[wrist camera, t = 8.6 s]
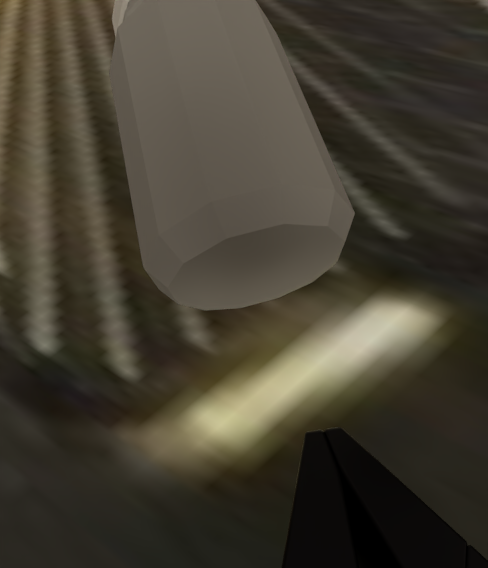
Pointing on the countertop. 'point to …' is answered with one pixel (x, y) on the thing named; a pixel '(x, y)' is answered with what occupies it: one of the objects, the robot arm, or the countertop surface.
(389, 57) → the countertop surface
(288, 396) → the countertop surface
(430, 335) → the countertop surface
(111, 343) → the countertop surface
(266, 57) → the jar
